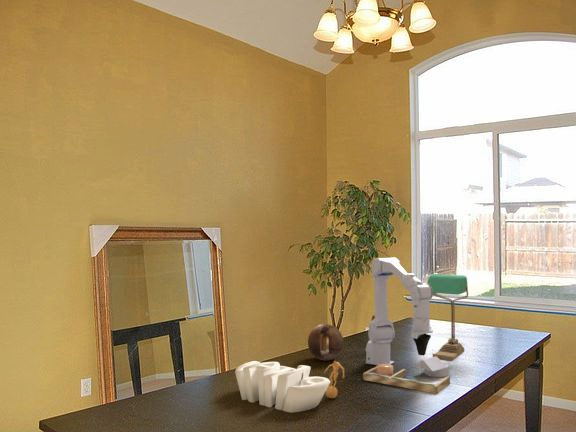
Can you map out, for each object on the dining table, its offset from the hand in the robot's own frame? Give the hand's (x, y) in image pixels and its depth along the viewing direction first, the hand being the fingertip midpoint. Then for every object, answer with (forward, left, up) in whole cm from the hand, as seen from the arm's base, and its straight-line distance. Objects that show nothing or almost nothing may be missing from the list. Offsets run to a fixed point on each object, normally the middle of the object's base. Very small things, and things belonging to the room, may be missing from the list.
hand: (421, 354), depth 194 cm
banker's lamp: (-5, +45, -10) cm, 46 cm away
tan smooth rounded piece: (-13, -2, -10) cm, 17 cm away
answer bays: (-5, -2, -10) cm, 11 cm away
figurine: (-18, -33, -10) cm, 39 cm away
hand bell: (-35, +33, -10) cm, 49 cm away
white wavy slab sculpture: (-32, -45, -10) cm, 56 cm away
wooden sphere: (-45, +7, -10) cm, 47 cm away
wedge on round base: (0, +12, -10) cm, 16 cm away
